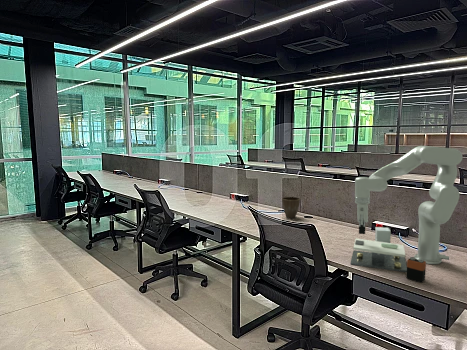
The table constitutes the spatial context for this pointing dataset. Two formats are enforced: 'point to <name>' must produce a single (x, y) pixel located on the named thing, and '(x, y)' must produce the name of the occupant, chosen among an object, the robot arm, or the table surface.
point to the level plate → (379, 247)
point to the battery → (416, 269)
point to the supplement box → (382, 234)
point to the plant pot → (290, 206)
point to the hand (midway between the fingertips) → (362, 233)
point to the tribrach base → (379, 261)
